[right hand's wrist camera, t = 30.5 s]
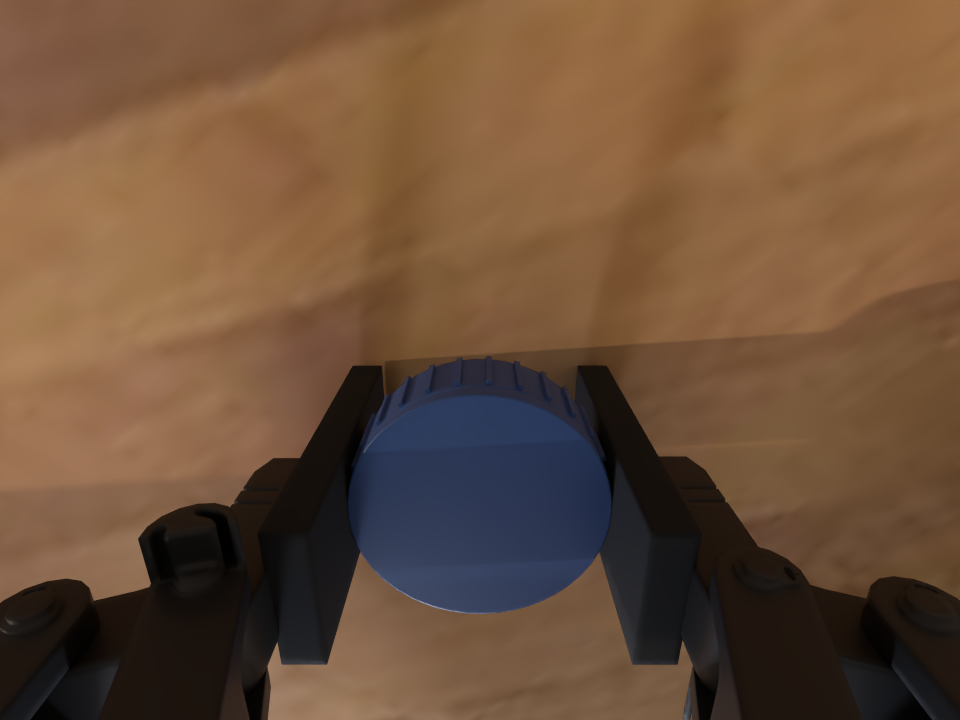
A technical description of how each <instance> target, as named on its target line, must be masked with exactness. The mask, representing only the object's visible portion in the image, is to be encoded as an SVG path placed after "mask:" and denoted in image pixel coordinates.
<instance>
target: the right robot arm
mask: <svg viewBox="0 0 960 720" xmlns="http://www.w3.org/2000/svg"><path fill="white" fill-rule="evenodd" d="M383 401H384V390H383V376H382V366H353V367H352V368H351V370H350V372H349V374H348V375H347V377H346V379H345V380H344V382H343V384H342V386H341V387H340V389H339V391H338V393H337V394H336V396H335V398H334V400H333V401H332V403H331V405H330V407H329V408H328V410H327V412H326V414H325V415H324V417H323V419H322V421H321V422H320V424H319V426H318V428H317V429H316V431H315V433H314V435H313V436H312V438H311V440H310V442H309V443H308V445H307V447H306V449H305V450H304V452H303V454H302V456H301V457H300V458H273V459H272V460H270V461H269V462H268V463H266V464H265V465H263V466H262V467H261V468H259V469H258V470H257V471H255V472H254V473H253V475H252V476H251V478H250V479H249V481H248V482H247V484H246V485H245V487H244V490H243V491H241V492H240V494H239V495H238V497H237V498H236V500H235V503H234V504H232V505H231V507H228V506H225V505H220V504H216V503H206V504H195V505H191V506H187V507H183V508H179V509H177V510H175V511H173V512H170V513H168V514H166V515H164V516H162V517H160V518H159V519H157V520H156V521H155V522H153V523H152V524H151V525H149V526H148V527H147V528H146V529H145V530H144V532H143V533H142V534H141V536H140V537H139V538H138V540H139V544H140V547H141V551H142V554H143V557H144V561H145V564H146V568H147V571H148V575H149V578H150V581H151V585H150V587H148V588H145V589H142V590H138V591H135V592H130V593H126V594H122V595H117V596H113V597H109V598H104V599H100V600H96V601H94V600H93V597H92V594H91V591H90V588H89V587H88V586H86V585H85V584H84V583H83V582H82V581H78V580H71V579H61V580H54V581H47V582H44V583H41V584H38V585H35V586H32V587H29V588H26V589H24V590H22V591H20V592H19V593H17V594H15V595H13V596H11V597H9V598H7V599H6V600H4V601H2V602H1V603H0V720H268V711H269V700H270V690H271V685H270V679H269V673H268V668H267V665H268V663H269V660H270V658H271V655H272V653H273V651H274V648H275V646H276V643H277V641H278V647H279V652H280V657H281V663H282V664H327V662H328V659H329V655H330V652H331V649H332V645H333V642H334V639H335V635H336V632H337V628H338V625H339V622H340V618H341V615H342V611H343V608H344V605H345V601H346V598H347V594H348V591H349V588H350V584H351V581H352V577H353V574H354V571H355V567H356V564H357V560H358V557H359V554H360V550H359V548H358V546H357V544H356V542H355V539H354V536H353V534H352V531H351V528H350V523H349V517H348V506H347V497H348V487H349V483H350V479H351V476H352V472H353V470H350V468H351V465H352V462H353V460H354V457H355V455H356V452H357V450H358V447H359V444H360V442H361V439H362V437H363V434H364V432H365V429H366V427H367V424H368V422H369V419H370V417H371V415H372V413H374V414H377V412H378V411H379V409H380V408H381V406H382V403H383ZM575 403H576V404H577V405H578V407H579V406H581V405H582V406H583V407H584V409H585V412H586V415H587V417H588V420H589V422H590V425H591V427H594V429H595V431H596V434H597V436H598V439H599V441H600V444H601V446H602V449H603V451H604V454H605V456H606V459H607V460H606V461H603V463H604V466H605V468H606V471H607V474H608V477H609V480H610V485H611V492H612V513H611V521H610V526H609V529H608V532H607V536H606V539H605V541H604V543H603V545H602V547H601V549H600V551H599V552H600V555H601V559H602V562H603V566H604V569H605V572H606V576H607V579H608V583H609V586H610V589H611V593H612V596H613V600H614V603H615V606H616V610H617V613H618V617H619V620H620V623H621V627H622V630H623V634H624V637H625V640H626V644H627V647H628V650H629V654H630V657H631V661H632V664H633V665H678V660H679V655H680V649H681V644H682V639H683V642H684V644H685V647H686V649H687V652H688V654H689V656H690V659H691V661H692V664H693V668H692V673H691V678H690V682H689V687H688V692H687V697H686V702H685V707H684V714H683V720H690V718H691V714H692V719H693V720H960V600H959V599H957V598H956V597H954V596H952V595H950V594H948V593H946V592H944V591H943V590H941V589H939V588H937V587H935V586H932V585H929V584H927V583H923V582H920V581H918V580H915V579H909V578H902V577H895V576H893V577H886V578H879V579H878V580H877V581H876V582H874V583H873V584H872V585H871V587H870V589H869V592H868V595H867V598H861V597H857V596H852V595H848V594H844V593H839V592H835V591H830V590H826V589H822V588H819V587H815V586H812V585H810V584H809V582H808V581H807V579H806V578H805V576H804V575H803V573H802V572H801V570H800V569H798V568H797V567H796V566H795V565H794V564H792V563H791V562H790V561H789V560H788V559H786V558H784V557H782V556H780V555H778V554H776V553H774V552H772V551H770V550H767V549H763V548H760V547H758V546H757V544H756V543H755V541H754V540H753V539H752V537H751V536H750V534H749V533H748V531H747V530H746V528H745V527H744V526H743V524H742V523H741V521H740V520H739V518H738V517H737V515H736V514H735V513H734V511H733V510H732V508H731V507H730V505H729V504H728V503H726V502H725V498H724V497H723V495H722V494H721V492H720V491H719V489H716V485H715V484H714V482H713V481H712V479H711V478H710V476H709V475H708V474H707V472H706V471H705V470H704V469H703V468H701V467H700V466H699V465H697V464H696V463H694V462H693V461H692V460H690V459H689V458H687V457H658V455H657V453H656V451H655V450H654V448H653V446H652V444H651V443H650V441H649V439H648V437H647V436H646V434H645V432H644V430H643V429H642V427H641V425H640V423H639V422H638V420H637V418H636V416H635V415H634V413H633V411H632V410H631V408H630V406H629V404H628V403H627V401H626V399H625V397H624V396H623V394H622V392H621V390H620V389H619V387H618V385H617V383H616V382H615V380H614V378H613V376H612V375H611V373H610V371H609V369H608V368H607V366H578V368H577V381H576V395H575Z"/></svg>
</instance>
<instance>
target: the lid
mask: <svg viewBox="0 0 960 720" xmlns="http://www.w3.org/2000/svg"><path fill="white" fill-rule="evenodd" d="M606 460H607V459H606V456H605V454H604V451H603V449H602V446H601V444H600V441H599V439H598V436H597V434H596V431H595V429H594V427H591V425H590V422H589V420H588V417H587V415H586V412H585V409H584V407H583V406H582V405H581V406H579V407H578V405H577V404H576V403H575V401H574V400H573V399H572V398H571V397H570V395H569V392H568V389H567V388H566V387H565V386H563V387H562V388H560V387H559V386H558V385H557V384H555V383H554V382H553V381H551V380H550V379H548V378H547V377H546V373H544V372H542V371H541V372H540V373H538V372H535V371H533V370H531V369H528V368H526V367H523V366H520V362H517V361H515V362H514V364H513V363H510V362H504V361H497V360H492V359H491V357H486V360H485V359H473V360H463V359H462V358H457V361H456V362H451V363H446V364H443V365H440V366H437V367H435V365H434V364H433V365H430V366H429V369H428V370H426V371H424V372H422V373H420V374H418V375H416V376H415V377H413V378H412V379H411V378H410V377H407V378H405V381H404V384H403V385H401V386H400V387H399V388H398V389H397V390H396V391H395V392H393V393H392V394H391V395H390V394H389V393H388V394H387V395H386V396H385V398H384V401H383V403H382V406H381V408H380V409H379V411H378V412H377V414H374V413H372V415H371V417H370V419H369V422H368V424H367V427H366V429H365V432H364V434H363V437H362V439H361V442H360V444H359V447H358V450H357V452H356V455H355V457H354V460H353V462H352V465H351V468H350V470H353V472H352V476H351V479H350V483H349V487H348V497H347V506H348V517H349V523H350V528H351V531H352V534H353V536H354V539H355V542H356V544H357V546H358V548H359V550H360V551H361V553H362V555H363V557H364V558H365V559H366V561H367V562H368V563H369V564H370V566H371V567H372V568H373V569H374V570H375V571H376V572H377V573H378V574H379V575H380V576H381V577H382V578H383V579H384V580H385V581H386V582H388V583H389V584H390V585H391V586H393V587H394V588H395V589H397V590H399V591H400V592H402V593H404V594H405V595H407V596H409V597H411V598H413V599H415V600H417V601H419V602H422V603H424V604H427V605H430V606H433V607H436V608H440V609H444V610H449V611H454V612H462V613H477V614H485V613H499V612H505V611H511V610H516V609H520V608H523V607H527V606H530V605H533V604H535V603H538V602H540V601H543V600H545V599H547V598H549V597H551V596H553V595H555V594H556V593H558V592H560V591H561V590H563V589H564V588H566V587H567V586H569V585H570V584H571V583H572V582H573V581H575V580H576V579H577V578H578V577H579V576H580V575H581V574H582V573H583V572H584V571H585V570H586V569H587V568H588V567H589V565H590V564H591V563H592V562H593V560H594V559H595V557H596V556H597V554H598V553H599V551H600V549H601V547H602V545H603V543H604V541H605V539H606V536H607V532H608V529H609V526H610V521H611V513H612V492H611V485H610V480H609V477H608V474H607V471H606V468H605V466H604V463H603V461H606Z"/></svg>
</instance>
